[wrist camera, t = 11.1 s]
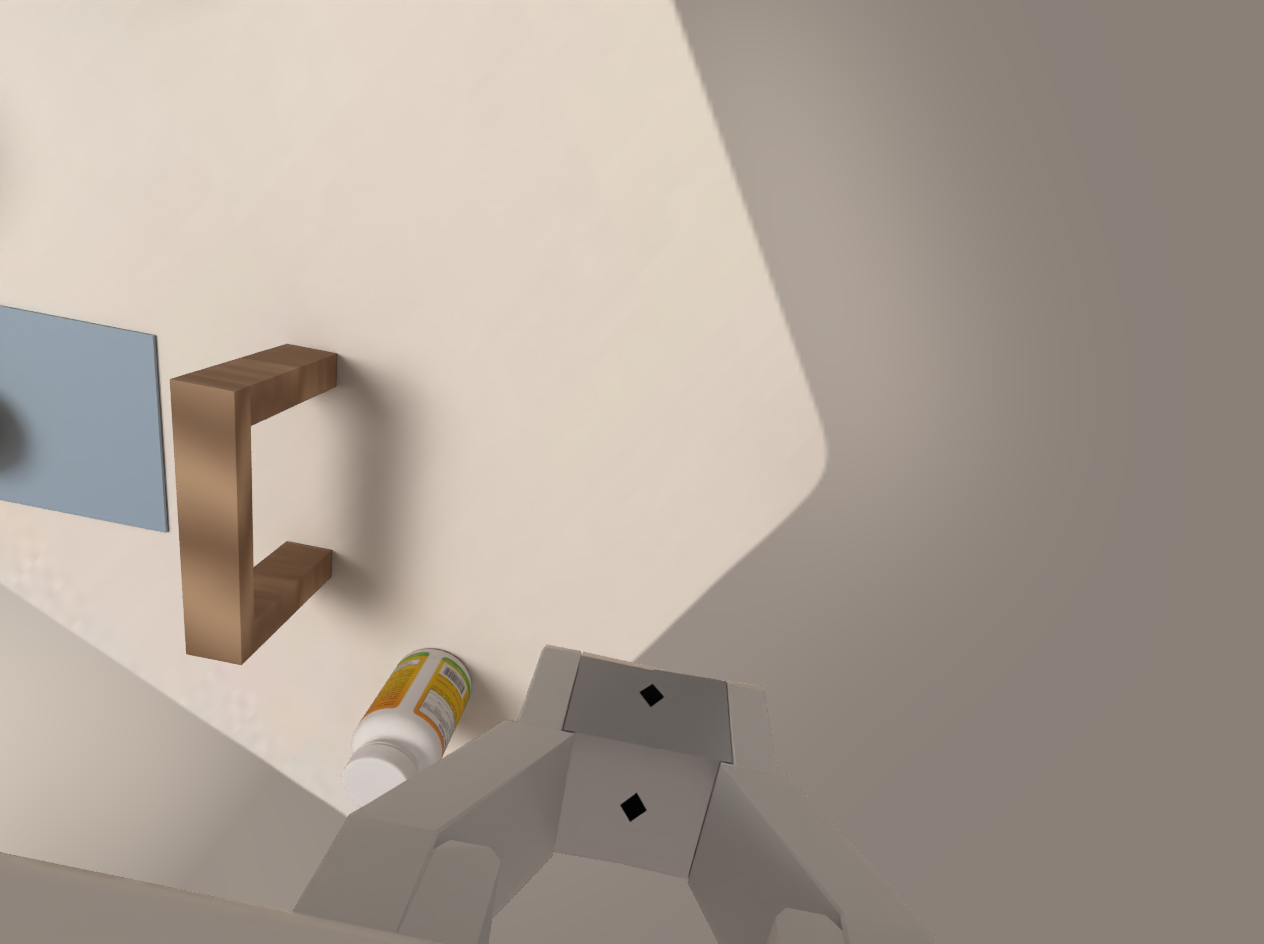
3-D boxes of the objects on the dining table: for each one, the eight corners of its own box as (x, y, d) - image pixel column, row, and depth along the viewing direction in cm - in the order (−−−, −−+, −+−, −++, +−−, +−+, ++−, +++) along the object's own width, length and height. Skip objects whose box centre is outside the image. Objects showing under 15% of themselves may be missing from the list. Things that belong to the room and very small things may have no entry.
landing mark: (-58, 294, 41) (-61, 294, 41) (155, 335, 41) (152, 335, 41) (-24, 493, 46) (-27, 494, 46) (167, 531, 46) (165, 532, 45)
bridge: (286, 343, 41) (169, 379, 32) (336, 353, 41) (234, 391, 31) (286, 568, 46) (186, 654, 37) (331, 576, 46) (241, 665, 37)
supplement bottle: (392, 700, 49) (323, 809, 40) (402, 637, 47) (333, 737, 38) (466, 720, 49) (414, 834, 40) (480, 658, 47) (429, 763, 38)
